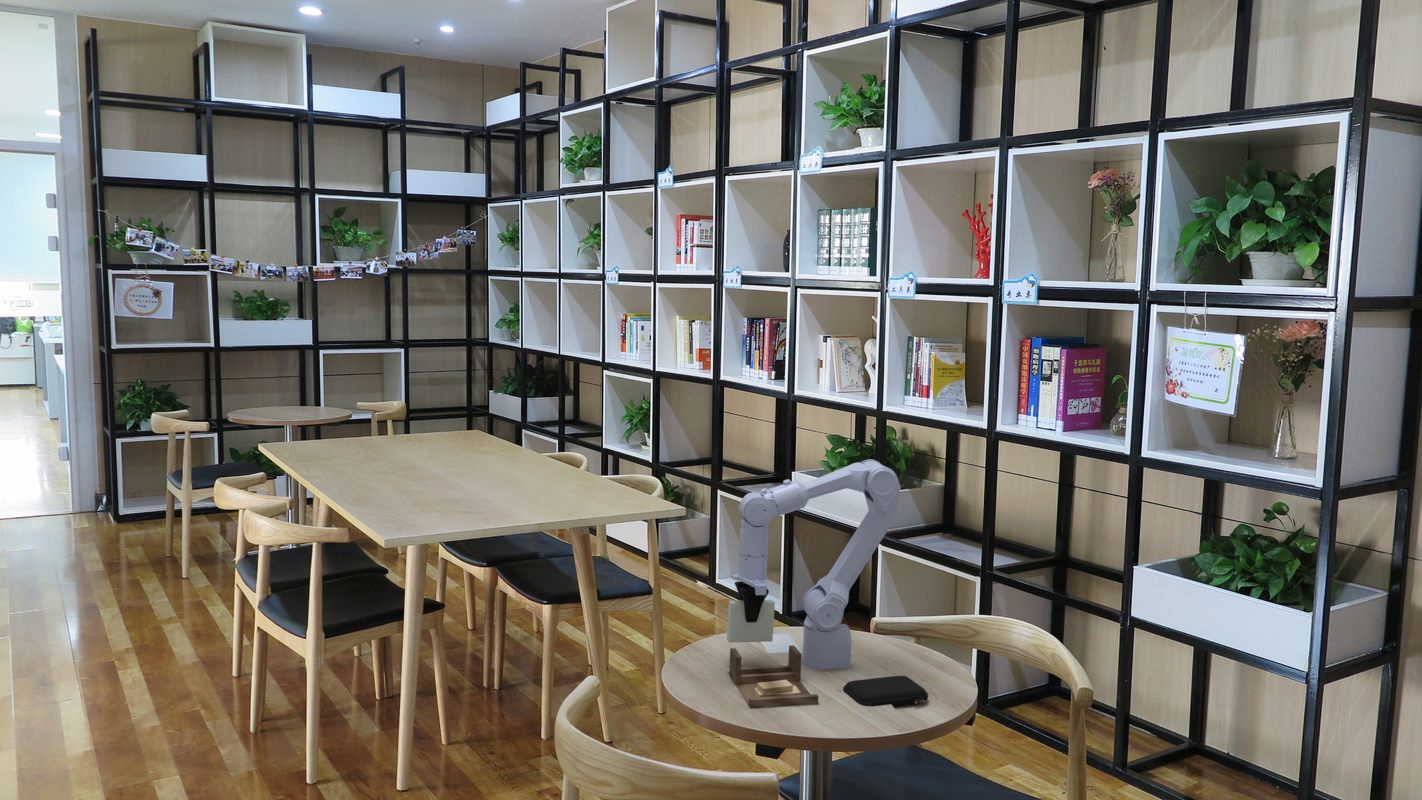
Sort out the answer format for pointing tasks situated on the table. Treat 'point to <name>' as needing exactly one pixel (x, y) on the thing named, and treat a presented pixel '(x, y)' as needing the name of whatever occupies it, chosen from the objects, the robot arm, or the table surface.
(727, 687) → the table surface
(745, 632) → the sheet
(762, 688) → the offcut stack
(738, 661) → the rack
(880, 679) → the carrying case or bag
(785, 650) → the hard drive
